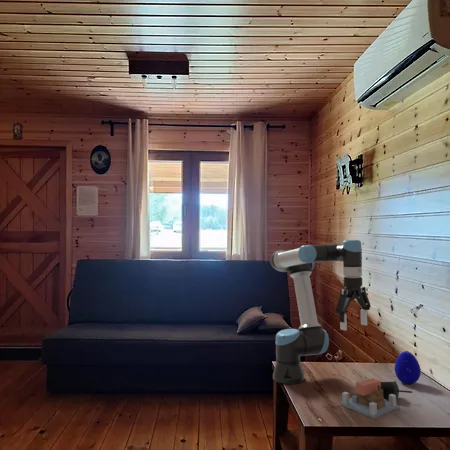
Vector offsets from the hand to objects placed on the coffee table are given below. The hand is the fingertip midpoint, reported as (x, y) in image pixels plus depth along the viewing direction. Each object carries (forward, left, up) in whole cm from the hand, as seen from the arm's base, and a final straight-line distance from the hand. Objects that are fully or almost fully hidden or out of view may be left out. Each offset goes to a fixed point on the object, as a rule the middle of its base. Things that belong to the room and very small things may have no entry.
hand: (354, 327), depth 171 cm
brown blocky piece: (+5, +2, -31) cm, 31 cm away
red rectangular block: (+5, +2, -26) cm, 26 cm away
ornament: (+1, +38, -32) cm, 49 cm away
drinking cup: (-5, +12, -29) cm, 32 cm away
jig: (+5, +2, -32) cm, 32 cm away
